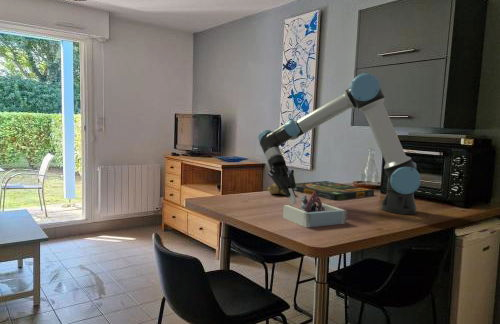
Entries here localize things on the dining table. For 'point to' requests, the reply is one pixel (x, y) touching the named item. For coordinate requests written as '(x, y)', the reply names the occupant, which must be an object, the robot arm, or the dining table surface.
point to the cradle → (315, 216)
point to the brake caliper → (312, 203)
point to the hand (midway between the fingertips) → (294, 202)
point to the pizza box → (332, 190)
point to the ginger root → (275, 190)
